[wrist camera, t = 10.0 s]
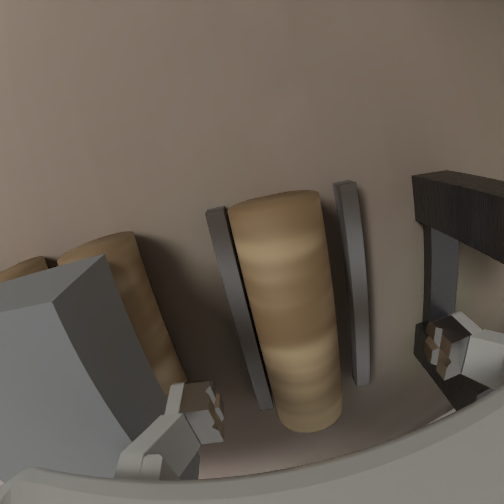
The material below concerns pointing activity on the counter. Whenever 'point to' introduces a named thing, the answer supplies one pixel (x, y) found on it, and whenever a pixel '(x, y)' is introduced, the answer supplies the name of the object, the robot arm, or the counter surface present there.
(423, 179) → the posts
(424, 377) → the counter surface
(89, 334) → the slab
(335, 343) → the roller
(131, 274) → the roller bed
